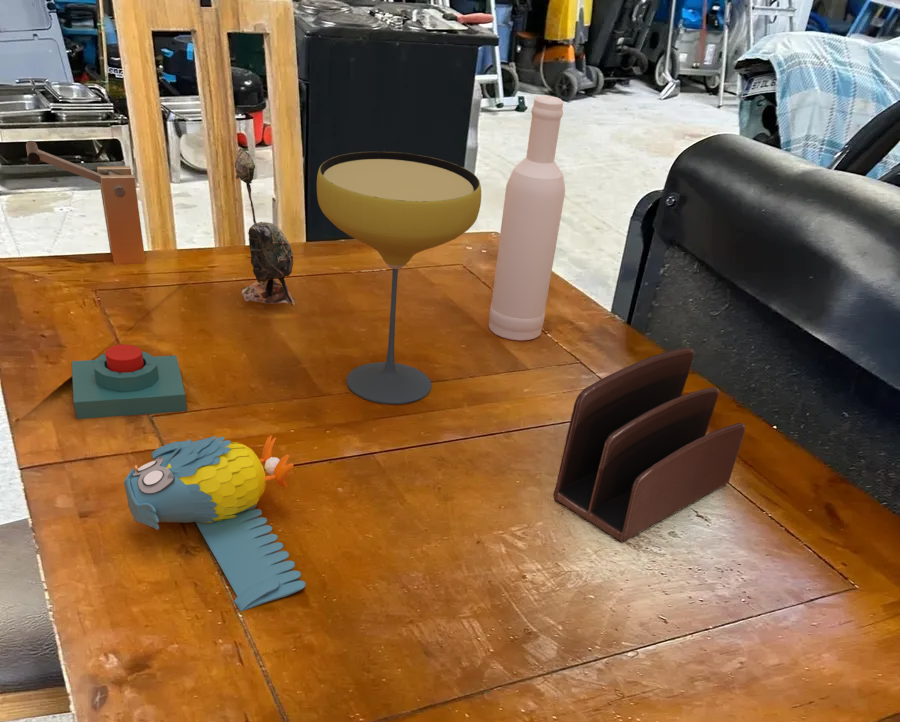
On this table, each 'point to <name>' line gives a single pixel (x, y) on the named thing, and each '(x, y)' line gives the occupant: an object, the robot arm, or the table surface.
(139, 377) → the button block
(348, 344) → the table surface
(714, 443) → the letter holder
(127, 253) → the bracket
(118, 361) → the button
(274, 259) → the stone bird sculpture
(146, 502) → the owl figurine
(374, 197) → the cocktail glass
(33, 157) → the lever
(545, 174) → the bottle
